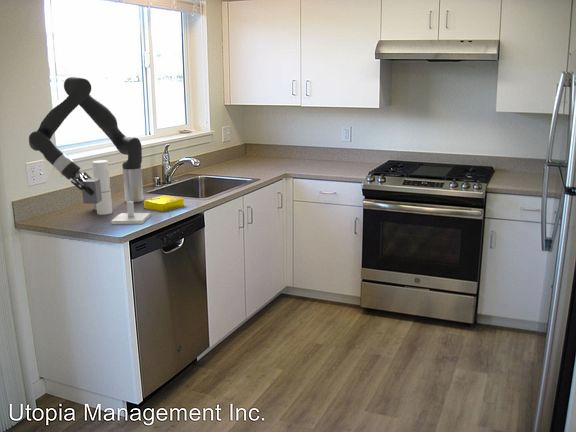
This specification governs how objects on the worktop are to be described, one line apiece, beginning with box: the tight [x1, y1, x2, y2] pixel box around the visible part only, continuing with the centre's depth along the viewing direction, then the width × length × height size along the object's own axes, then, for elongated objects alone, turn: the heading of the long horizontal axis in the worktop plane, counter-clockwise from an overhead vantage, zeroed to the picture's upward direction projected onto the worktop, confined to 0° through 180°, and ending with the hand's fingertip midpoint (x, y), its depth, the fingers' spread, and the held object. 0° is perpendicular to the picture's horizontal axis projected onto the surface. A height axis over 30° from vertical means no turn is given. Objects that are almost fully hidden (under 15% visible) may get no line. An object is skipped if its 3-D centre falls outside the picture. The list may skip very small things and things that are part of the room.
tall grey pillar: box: [81, 178, 102, 205], centre depth 268 cm, size 6×6×10 cm
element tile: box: [143, 194, 185, 212], centre depth 297 cm, size 15×15×5 cm
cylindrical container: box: [91, 159, 113, 216], centre depth 285 cm, size 7×7×25 cm
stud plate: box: [110, 201, 151, 225], centre depth 272 cm, size 14×14×8 cm
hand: (95, 192), depth 268 cm, fingers closed on tall grey pillar, 6 cm apart
